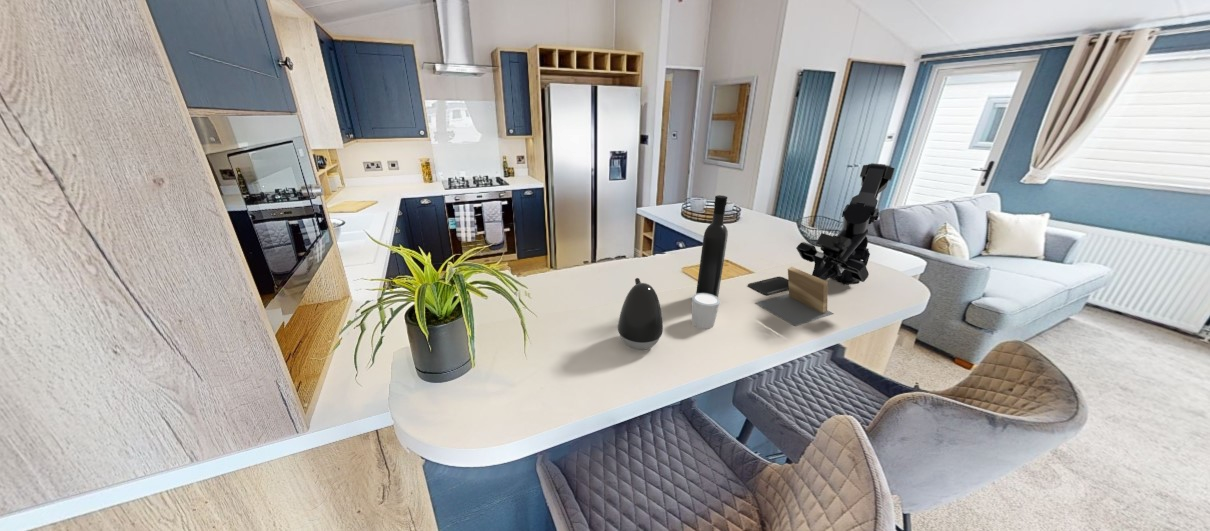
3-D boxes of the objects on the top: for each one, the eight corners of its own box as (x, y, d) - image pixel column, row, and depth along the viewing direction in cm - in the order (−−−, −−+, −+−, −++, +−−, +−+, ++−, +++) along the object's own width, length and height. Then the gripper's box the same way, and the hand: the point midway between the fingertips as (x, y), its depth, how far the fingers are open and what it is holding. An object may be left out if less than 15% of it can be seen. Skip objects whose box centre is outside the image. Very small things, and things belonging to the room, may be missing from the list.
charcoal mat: (791, 293, 115) (792, 293, 115) (834, 314, 104) (834, 313, 104) (754, 303, 109) (754, 302, 109) (794, 327, 98) (795, 326, 98)
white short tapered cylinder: (683, 322, 98) (686, 298, 96) (697, 313, 103) (700, 290, 100) (708, 333, 94) (711, 308, 91) (721, 323, 99) (725, 298, 96)
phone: (800, 285, 119) (766, 294, 113) (800, 288, 120) (765, 297, 113) (779, 275, 126) (746, 283, 119) (779, 279, 126) (745, 287, 120)
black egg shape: (653, 329, 95) (658, 273, 89) (667, 354, 86) (673, 293, 80) (613, 332, 93) (615, 275, 87) (622, 358, 84) (625, 296, 78)
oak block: (792, 294, 113) (791, 266, 108) (827, 310, 104) (827, 281, 99) (789, 296, 113) (787, 268, 108) (823, 313, 104) (823, 284, 99)
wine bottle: (694, 302, 109) (707, 197, 97) (698, 294, 114) (712, 193, 102) (714, 307, 107) (731, 199, 95) (718, 298, 111) (734, 195, 100)
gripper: (808, 214, 109) (773, 256, 109) (875, 233, 94) (835, 281, 94) (819, 237, 116) (786, 277, 115) (884, 258, 101) (846, 304, 100)
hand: (811, 284), depth 106 cm, fingers closed
